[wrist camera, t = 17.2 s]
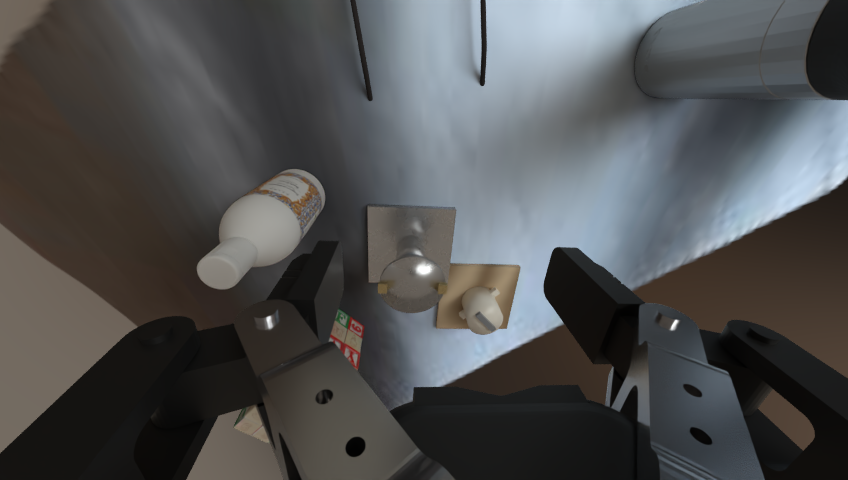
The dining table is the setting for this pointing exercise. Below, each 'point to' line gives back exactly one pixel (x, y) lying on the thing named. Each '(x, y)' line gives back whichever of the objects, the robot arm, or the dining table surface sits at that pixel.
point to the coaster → (473, 276)
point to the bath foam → (263, 227)
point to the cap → (481, 310)
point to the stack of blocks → (343, 335)
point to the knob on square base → (410, 254)
